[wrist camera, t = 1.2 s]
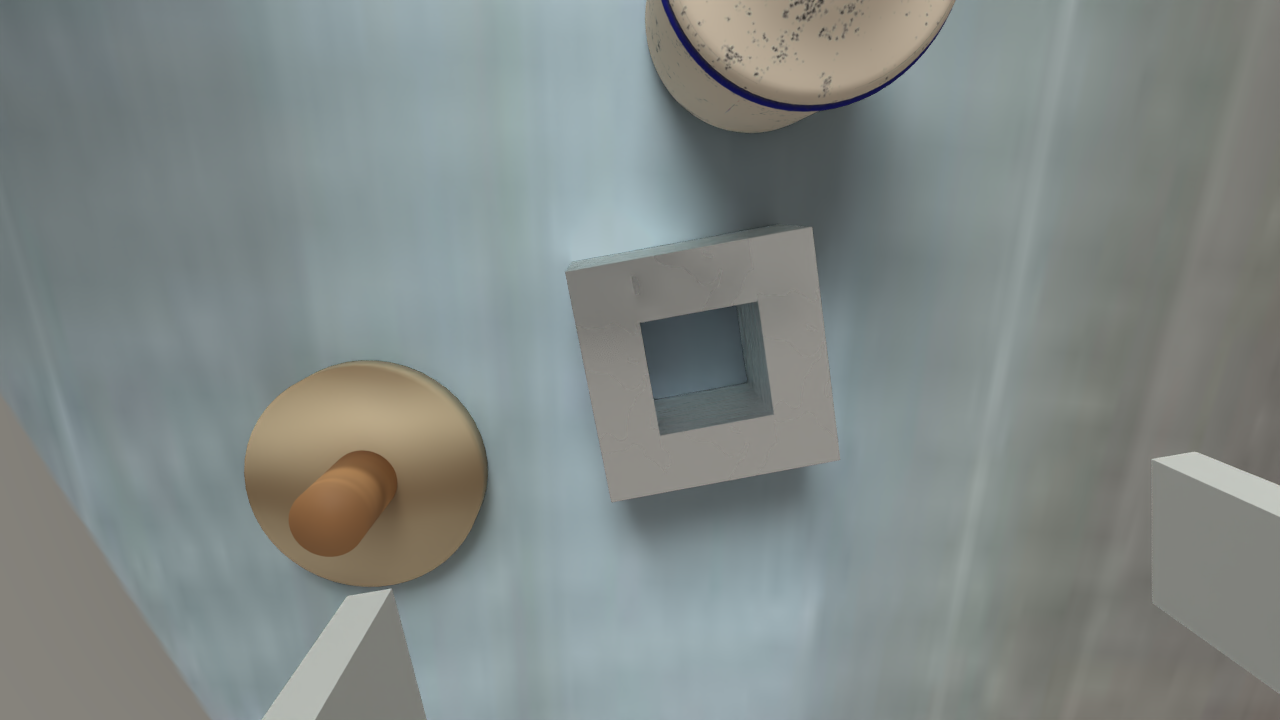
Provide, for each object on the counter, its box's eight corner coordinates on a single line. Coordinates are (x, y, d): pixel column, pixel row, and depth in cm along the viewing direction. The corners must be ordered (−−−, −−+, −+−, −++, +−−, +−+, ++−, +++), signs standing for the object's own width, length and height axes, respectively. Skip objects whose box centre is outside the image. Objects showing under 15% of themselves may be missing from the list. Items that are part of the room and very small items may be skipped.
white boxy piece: (572, 261, 29) (565, 271, 24) (778, 224, 29) (812, 226, 25) (610, 457, 31) (611, 502, 26) (804, 421, 31) (840, 460, 26)
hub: (232, 382, 30) (150, 420, 24) (459, 341, 30) (426, 369, 24) (297, 587, 32) (235, 663, 27) (508, 548, 32) (489, 615, 27)
